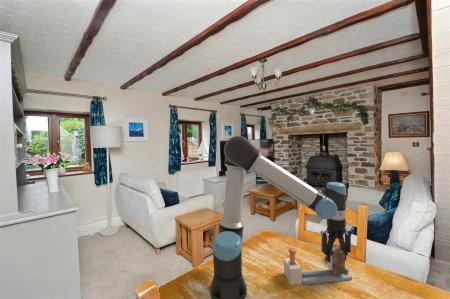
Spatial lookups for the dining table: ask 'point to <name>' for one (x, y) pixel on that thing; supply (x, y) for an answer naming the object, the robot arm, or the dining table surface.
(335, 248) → the carriage
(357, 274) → the dining table surface
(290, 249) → the plunger
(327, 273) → the rail board
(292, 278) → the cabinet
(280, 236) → the dining table surface
